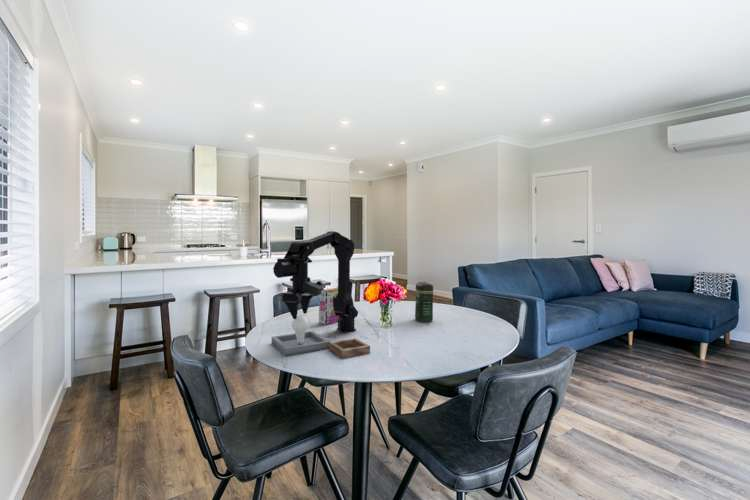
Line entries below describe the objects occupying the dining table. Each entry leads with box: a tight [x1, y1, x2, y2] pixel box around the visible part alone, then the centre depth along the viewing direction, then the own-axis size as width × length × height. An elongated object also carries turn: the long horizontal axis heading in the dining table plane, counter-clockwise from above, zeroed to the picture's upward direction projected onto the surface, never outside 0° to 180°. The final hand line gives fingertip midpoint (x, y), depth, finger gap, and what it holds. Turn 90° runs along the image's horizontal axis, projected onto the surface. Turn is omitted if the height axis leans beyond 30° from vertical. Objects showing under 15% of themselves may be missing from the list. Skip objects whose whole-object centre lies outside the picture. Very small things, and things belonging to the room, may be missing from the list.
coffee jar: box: [414, 281, 434, 323], centre depth 184 cm, size 10×8×19 cm
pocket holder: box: [328, 337, 371, 359], centre depth 138 cm, size 11×11×2 cm
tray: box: [271, 330, 331, 357], centre depth 144 cm, size 17×17×2 cm
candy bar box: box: [318, 286, 339, 326], centre depth 179 cm, size 11×5×16 cm, turn 144°
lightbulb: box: [291, 314, 309, 344], centre depth 144 cm, size 6×6×11 cm
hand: (300, 316), depth 143 cm, fingers open, 9 cm apart
